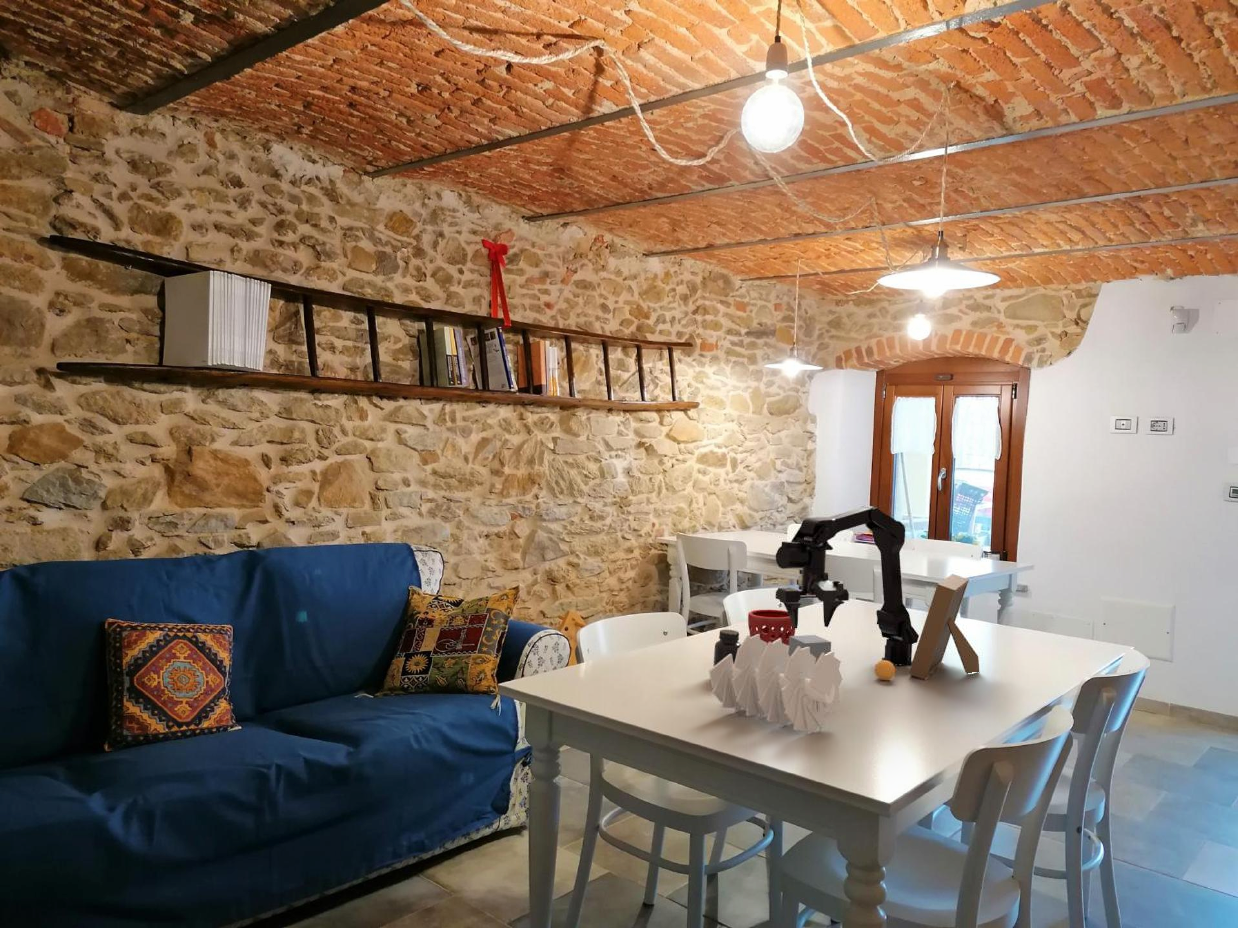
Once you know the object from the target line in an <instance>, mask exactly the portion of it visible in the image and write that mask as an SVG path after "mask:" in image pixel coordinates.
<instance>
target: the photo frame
mask: <svg viewBox="0 0 1238 928" xmlns="http://www.w3.org/2000/svg"><path fill="white" fill-rule="evenodd" d="M968 584H969V578H965V577H962V576H960V575H957V574H954V573H952V574H950V575H949V576H947V577H946V578H945V579H943V580H941V581H940V582H938V583H937V585H936V589H935V591H934V594H933V597H932V600H931V602H930V606H929V609H928V612H927V614H926V619H925V620H924V624H923V628H922V631H921V633H920V636H919V639H918V642H917V646H916V648H915V653H914V655H913V659H912V660H911V661H912V664H911V665H910V667H909V671H908V674H910V675H912V676H914V677H916V678H918V679H921V680H923V679H926V678H927V679H928V678H929V677H930V676H931V675H932V674H933V673H934V671H936V670H937V668H938V667H939V666H940V665H941V664H942V662H943V660H944V656H945V653H946V651H947V646H948V644H949V640H950V638H951V636H952V640H953V642H954V644H955V647H956V650H957V653H958V656H959V658H960V659H959V660H960V661H961V663H962V667H963V669H964V671H965V674H966V673H967V674H968V673H972V672H979V673H980V662H979V659H980V658H979V655H978V654H977V653H976V651H975V650H974V648H973V647H972V645H971V644H970V642H969V640H967V638H966V636H965V635H964V633H962V631H961V630H960V628H959V627H958V625H957V624H956V619H957V617H958V614H959V611H960V608H961V605H962V601H963V599H964V596H965V593H966V590H967V586H968ZM940 663H941V664H940ZM939 664H940V665H939ZM938 665H939V666H938ZM937 666H938V667H937ZM936 667H937V668H936ZM931 673H932V674H931ZM930 674H931V675H930ZM929 675H930V676H929ZM928 676H929V677H928ZM927 679H926V680H927Z"/></svg>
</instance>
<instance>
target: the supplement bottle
mask: <svg viewBox="0 0 1238 928" xmlns="http://www.w3.org/2000/svg"><path fill="white" fill-rule="evenodd" d="M718 634H719V636H718V639H719V640H718V641H716V642H715V644H714V651H713V653H714V654H713V666H712V668H713V667H714V666H715V665H716V664H718V663H719V662H720V661H721V660H723V659H724V658H725V657H726V656H728V655H729V654H732V658H733V663H735V659H736V654H737V650H738V648H739V647H740V646H741V644H742V643H740V642H739V641H740V637H739V636H740V632H739V631H738V630H734V629H721V630H720V631H719V633H718Z"/></svg>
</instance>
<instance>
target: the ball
mask: <svg viewBox="0 0 1238 928" xmlns="http://www.w3.org/2000/svg"><path fill="white" fill-rule="evenodd" d="M874 673H875V675H876V677H877V678H878V679H880V680H881V681H890V680H892V679H893V678H894V677H895V675H896V668H895V665H894V664H892V663H891V662H889V661H887V660H882V659H881V660H879V661H877V663H876V664H875V667H874Z"/></svg>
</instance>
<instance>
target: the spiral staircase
mask: <svg viewBox="0 0 1238 928" xmlns="http://www.w3.org/2000/svg"><path fill="white" fill-rule="evenodd" d="M740 644H741V646H740V647H739V648H738V650H737V654H736V659H735V663H733V658H732V654H729V655H728V656H726V657H725V658H724V659H723V660H721V661H720V662H719V663H718V664H716V665H715V666H714V665H713V666H714V667H713V666H712V667H711V668H710V669H709V670H708V672H709V678H710V683H711V687H712V688H713V689H712V691H711V692H712V694H713V695H714V696H715V698H716V699H717V700H718V701H719V702H720V703H721V708H725V709H734V712H735V713H738V712H740V710H741V709H743V710H744V711H745V716H748V717H749V716H759V719H763V718H764V717H765V716H766V717H767V718H766V721H768V722H772V723H775V724H779V728H780V727H781V729H782V728H784V727H785V726H787V724H789V723H791V724H792V725H793V730H794V731H806V735H807V736H810V735H811V734H812V733H813V732H814V731H815V730H816V729H817V728H818V727H819V729H823V728H824V725H825V722H826V720H827V718H828V715H829V713H832V714H834V711H835V705H836V704H837V703H838V702H840V688H839V687H840V685H841V683H842V682H843V677H842V674H841V672H840V667H841V666H840V665H841V662H842V661H841V660H839V659H838V658H837V657H835V652H834V651H833V650H831V652H829V653H827V654H825V653H823V652H822V654H821V655H820V657H819V659H818V660H817V662H816V664H815V661H816V657H814V656H813V655H812V654H811V653H810V647H805V648H802V649H801V647H800V646H798V647H797V648H796V650H795V651H794V653H793V654H792V655H791V657H790V656H789V654H788V651H789V646H788V645H785V644H783V643H782V639H781V638H779V639H778V640H776V641H774V642H773V643H771V642H769V643H768V645H767V643H766V642H764V641H763V640H761V639H760V634H757V635H755V636H752V637H750V635H746V636H745V638H744V640H743V642H741V643H740Z"/></svg>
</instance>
